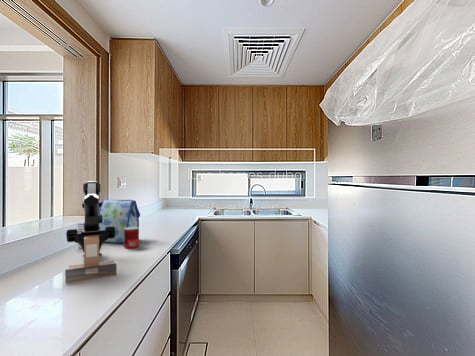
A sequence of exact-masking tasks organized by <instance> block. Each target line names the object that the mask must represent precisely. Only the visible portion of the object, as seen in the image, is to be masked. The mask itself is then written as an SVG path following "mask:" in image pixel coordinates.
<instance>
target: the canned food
mask: <svg viewBox="0 0 475 356" xmlns="http://www.w3.org/2000/svg"><path fill="white" fill-rule="evenodd" d="M139 233H140V226H139V227H127V228H124V243H123V244H124V245H123V247H124V249H136V248H138V247H139V246H140V238H139V237H140V234H139Z"/></svg>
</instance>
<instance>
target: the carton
mask: <svg viewBox="0 0 475 356" xmlns="http://www.w3.org/2000/svg"><path fill="white" fill-rule="evenodd" d="M83 255H84V256H83V264H84V267H90V266H98V265H99V262H100V255H99V235H98V236H86V237H84V252H83Z"/></svg>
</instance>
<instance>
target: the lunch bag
mask: <svg viewBox="0 0 475 356" xmlns="http://www.w3.org/2000/svg"><path fill="white" fill-rule="evenodd" d="M101 202H102V206H101V207H100V208H99V210H98V212H99V215H102V217H103V223H99V227H100V231H101V230H105V227H110V226H114V227H115V238H109V239H108V240H105V242H104V243H121V244H124V228H127V227H139V228H140V217H141V213H140V210H139V207H138V204H137V202H136V200H132V199H103V200H102V201H101ZM99 241H100V240H99Z"/></svg>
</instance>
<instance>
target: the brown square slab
mask: <svg viewBox="0 0 475 356" xmlns="http://www.w3.org/2000/svg"><path fill="white" fill-rule="evenodd" d="M64 275H65V280H64V281H65V283H70V282H76V281H77V282H78V281H83V280H89V279H98V278H104V277H113V276H117V262H116V263H115V260H113V259H112V260H105V261H99V265H98V266H90V267H84V263H81V264H80V263H79V264H73V265H69V266H68V268H67V269H65V274H64Z"/></svg>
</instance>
